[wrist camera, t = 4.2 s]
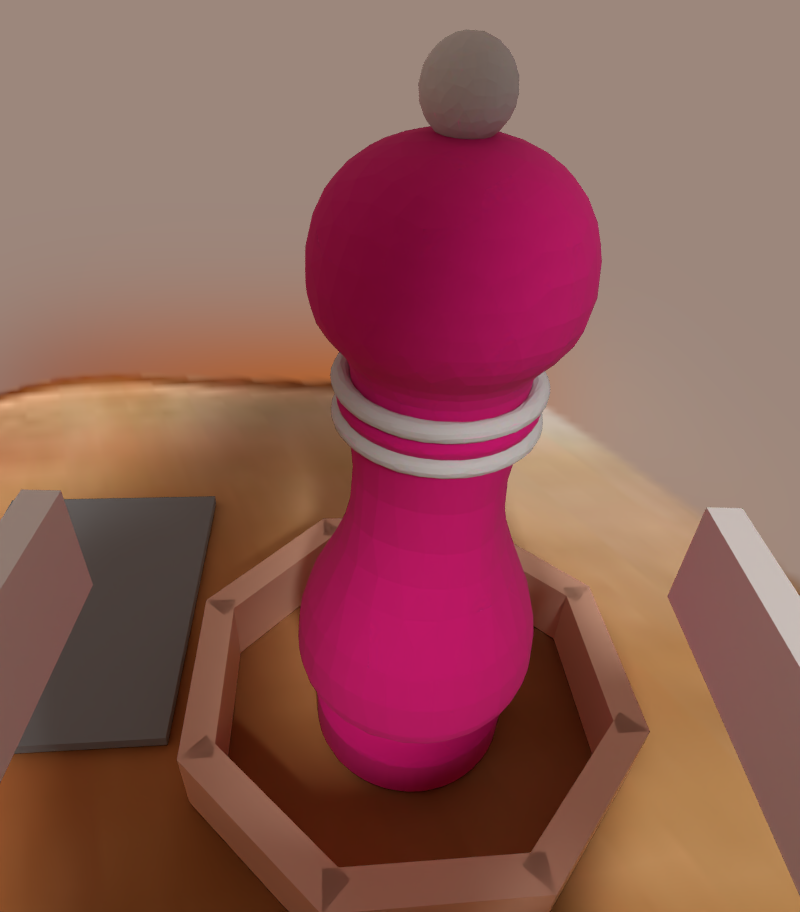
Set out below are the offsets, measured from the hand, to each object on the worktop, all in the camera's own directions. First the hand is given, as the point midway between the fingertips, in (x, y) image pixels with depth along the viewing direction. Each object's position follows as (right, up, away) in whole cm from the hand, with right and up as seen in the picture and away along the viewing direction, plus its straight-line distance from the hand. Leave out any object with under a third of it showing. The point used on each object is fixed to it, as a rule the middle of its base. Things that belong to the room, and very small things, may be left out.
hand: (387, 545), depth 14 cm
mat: (-12, -4, +12) cm, 18 cm away
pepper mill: (+1, -7, +9) cm, 12 cm away
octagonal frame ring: (+1, -7, +9) cm, 12 cm away
